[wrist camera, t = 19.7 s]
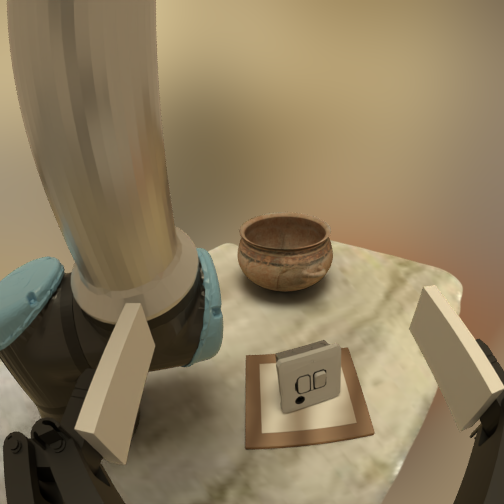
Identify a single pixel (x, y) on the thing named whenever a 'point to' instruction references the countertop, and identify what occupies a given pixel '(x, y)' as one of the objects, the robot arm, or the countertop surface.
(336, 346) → the electrical switch
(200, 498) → the countertop surface
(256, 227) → the cooking pot
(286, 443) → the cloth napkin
